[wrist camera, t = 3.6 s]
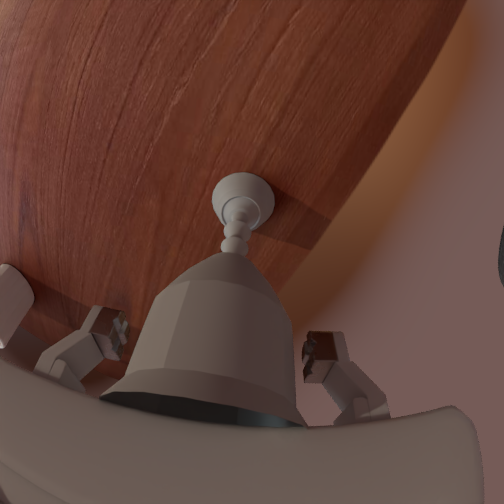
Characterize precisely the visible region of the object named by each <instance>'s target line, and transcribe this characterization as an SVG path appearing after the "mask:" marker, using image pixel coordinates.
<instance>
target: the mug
mask: <svg viewBox="0 0 504 504" xmlns="http://www.w3.org/2000/svg"><path fill="white" fill-rule="evenodd" d="M33 302H34V293H33V291H32V289H31V287H30V285H29V283H28V282H27V280H26V279H25V278H24V277H23V275H22V274H21V273H20V272H19V271H18V270H17V269H15V268H14V267H12V266H11V265H8V264H2V265H1V266H0V348H4V347H5V346H6V344H7V343H8V341H9V339H10V338H11V336H12V335H13V333H14V331H15V330H16V328H17V327H18V325H19V323H20V322H21V320H22V319H23V317H24V316H25V314H26V313H27V311H28V310H29V309H30V307H31V306H32V304H33Z"/></svg>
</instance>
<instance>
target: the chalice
mask: <svg viewBox="0 0 504 504" xmlns="http://www.w3.org/2000/svg"><path fill="white" fill-rule="evenodd" d="M212 203H213V208H214V210H215V212H216V214H217V216H218V217H219V219H220V221H221V223H222V224H223V225H224V226H225V227H224V234H225V236H226V239H225V240H224V241H223V242H222V244H221V249H222V252H221V253H218V254H215V255H212V256H211V257H209V258H207V259H205V260H203V261H202V262H200V263H198V264H196V265H194V266H192V267H191V268H189V269H188V270H187V271H185V272H184V273H183V274H181V275H180V276H179V277H178V278H177V279H175V280H174V281H173V282H172V283H171V284H170V285H169V286H168V287H166V288H165V289H164V290H163V291H162V292H161V293H160V294H159V295H157V296H156V298H155V300H154V302H153V305H152V307H151V309H150V312H149V314H148V316H147V319H146V321H145V324H144V326H143V329H142V331H141V334H140V336H139V339H138V341H137V344H136V347H135V349H134V352H133V355H132V357H131V360H130V363H129V365H128V368H127V371H126V374H125V376H124V377H123V378H122V379H121V380H119V381H118V382H117V383H116V384H114V385H113V386H112V387H111V388H109V389H108V390H107V391H106V392H104V393H103V394H102V395H101V396H99V399H104V400H107V401H110V402H114V403H117V404H121V405H125V406H128V407H132V408H136V409H140V410H145V411H149V412H154V413H159V414H163V415H169V416H174V417H180V418H186V419H192V420H199V421H206V422H215V423H224V424H235V425H248V426H270V427H305V428H306V429H307V427H308V425H307V424H306V422H305V421H304V419H303V417H302V416H301V414H300V413H299V411H298V410H297V408H296V392H295V370H294V351H293V334H292V324H291V321H290V319H289V317H288V316H287V313H286V312H285V310H284V308H283V306H282V304H281V302H280V300H279V299H278V297H277V295H276V293H275V292H274V290H273V288H272V287H271V285H270V284H269V282H268V281H267V280H266V279H265V278H264V276H263V275H262V274H261V273H260V272H259V270H258V269H257V268H256V267H255V266H254V264H253V263H252V262H251V261H250V260H248V259H247V258H246V257H244V256H245V255H246V254H247V253H248V245H247V243H246V241H247V240H249V238H250V237H251V231H252V230H255V229H256V228H258V227H259V226H260V225H261V224H263V223H264V222H265V221H266V220H268V218H269V217H270V215H271V214H272V212H273V209H274V205H275V201H274V194H273V192H272V190H271V188H270V186H269V185H268V184H267V183H266V182H265V181H264V180H263V179H262V178H260V177H258V176H256V175H254V174H250V173H245V172H242V173H233V174H231V175H229V176H226V177H224V178H223V179H222V180H221V181H220V182H219V183H218V184H217V186H216V187H215V189H214V191H213V197H212Z"/></svg>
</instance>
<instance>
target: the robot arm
mask: <svg viewBox="0 0 504 504" xmlns="http://www.w3.org/2000/svg"><path fill="white" fill-rule="evenodd" d="M125 318H126V315H125V312H124V311H121V310H116V309H111V308H107V307H102V306H97V305H95V306H93V307H92V309H91V311H90V312H89V314H88V316H87V318H86V320H85V321H84V323H83V325H82V327H81V329H80V330H76V331H75V332H73V333H71V334H70V335H68V336H67V337H65V338H64V339H62V340H61V341H59V342H58V343H56V344H55V345H53V346H52V347H50V348H49V349H47V350H46V351H44V352H43V353H42V355H41V357H40V359H39V361H38V362H37V364H36V366H35V368H34V371H33V372H30V371H28V370H26V369H24V368H22V367H20V366H18V365H16V364H14V363H12V362H10V361H8V360H6V359H4V358H2V357H1V356H0V504H484V477H483V466H482V458H481V452H480V446H479V441H478V436H477V432H476V429H475V426H474V424H473V422H472V420H471V419H470V418H469V417H467V416H466V415H465V414H464V413H463V412H462V411H461V410H459V409H458V408H457V407H455V406H452V405H451V406H445V407H441V408H438V409H434V410H430V411H426V412H421V413H417V414H412V415H407V416H402V417H396V418H391V417H390V413H389V408H388V404H387V400H386V395H385V394H384V393H383V392H382V391H381V390H380V389H379V388H378V387H377V385H376V384H374V382H373V381H372V380H371V379H370V378H369V377H368V376H367V375H366V374H365V373H364V372H363V371H362V370H361V369H360V368H359V367H358V366H357V365H356V364H355V363H354V362H352V361H350V359H349V355H348V351H347V346H346V342H345V338H344V334H343V332H333V331H332V332H331V331H309V332H308V334H307V341H305V342H304V345H303V348H302V362H303V363H304V365H305V367H304V369H303V376H304V383H323V384H322V385H323V386H324V387H325V389H326V390H327V392H328V393H329V394H330V396H331V397H332V398H333V400H334V401H335V403H336V404H337V405H338V407H339V408H340V409H341V411H342V413H341V414H340V415H339V416H338V417H337V419H336V420H335V421H334V425H330V426H308V427H307V429H306V428H305V427H270V426H248V425H235V424H224V423H215V422H206V421H199V420H192V419H186V418H180V417H174V416H169V415H163V414H159V413H154V412H149V411H145V410H140V409H136V408H132V407H128V406H125V405H121V404H117V403H114V402H110V401H107V400H104V399H99V398H97V397H94V396H91V395H88V394H85V388H84V386H83V385H82V384H81V383H80V380H81V379H82V378H83V377H84V376H85V375H86V374H87V373H88V372H90V371H91V370H92V369H93V368H94V367H95V366H96V365H97V364H99V363H100V362H101V361H102V360H103V359H104V358H108V359H113V360H117V361H120V359H121V356H122V354H123V351H124V348H123V345H124V344H125V343H127V341H128V338H129V333H130V328H129V324H128V322H127V321H126V320H125Z"/></svg>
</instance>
